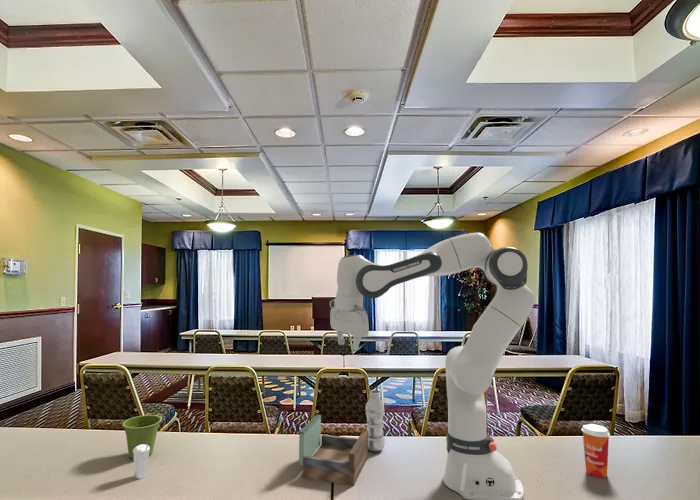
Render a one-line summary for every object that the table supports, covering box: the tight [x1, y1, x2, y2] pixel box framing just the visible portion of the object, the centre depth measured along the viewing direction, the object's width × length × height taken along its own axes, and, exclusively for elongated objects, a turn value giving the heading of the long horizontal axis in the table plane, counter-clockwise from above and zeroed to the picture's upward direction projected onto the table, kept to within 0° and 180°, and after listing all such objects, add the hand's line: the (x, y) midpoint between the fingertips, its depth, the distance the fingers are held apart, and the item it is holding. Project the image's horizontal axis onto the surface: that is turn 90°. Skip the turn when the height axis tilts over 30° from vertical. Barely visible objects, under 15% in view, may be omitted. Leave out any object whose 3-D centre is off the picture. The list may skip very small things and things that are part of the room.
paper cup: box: [581, 423, 611, 479], centre depth 127 cm, size 8×8×14 cm
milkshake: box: [133, 444, 150, 480], centre depth 123 cm, size 4×5×10 cm
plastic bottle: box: [365, 389, 386, 452], centre depth 143 cm, size 6×7×20 cm
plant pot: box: [122, 414, 163, 460], centre depth 137 cm, size 12×12×11 cm
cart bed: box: [302, 430, 369, 487], centre depth 129 cm, size 16×18×9 cm
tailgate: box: [298, 414, 322, 467], centre depth 132 cm, size 2×16×10 cm, turn 165°
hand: (347, 346), depth 132 cm, fingers open, 8 cm apart
